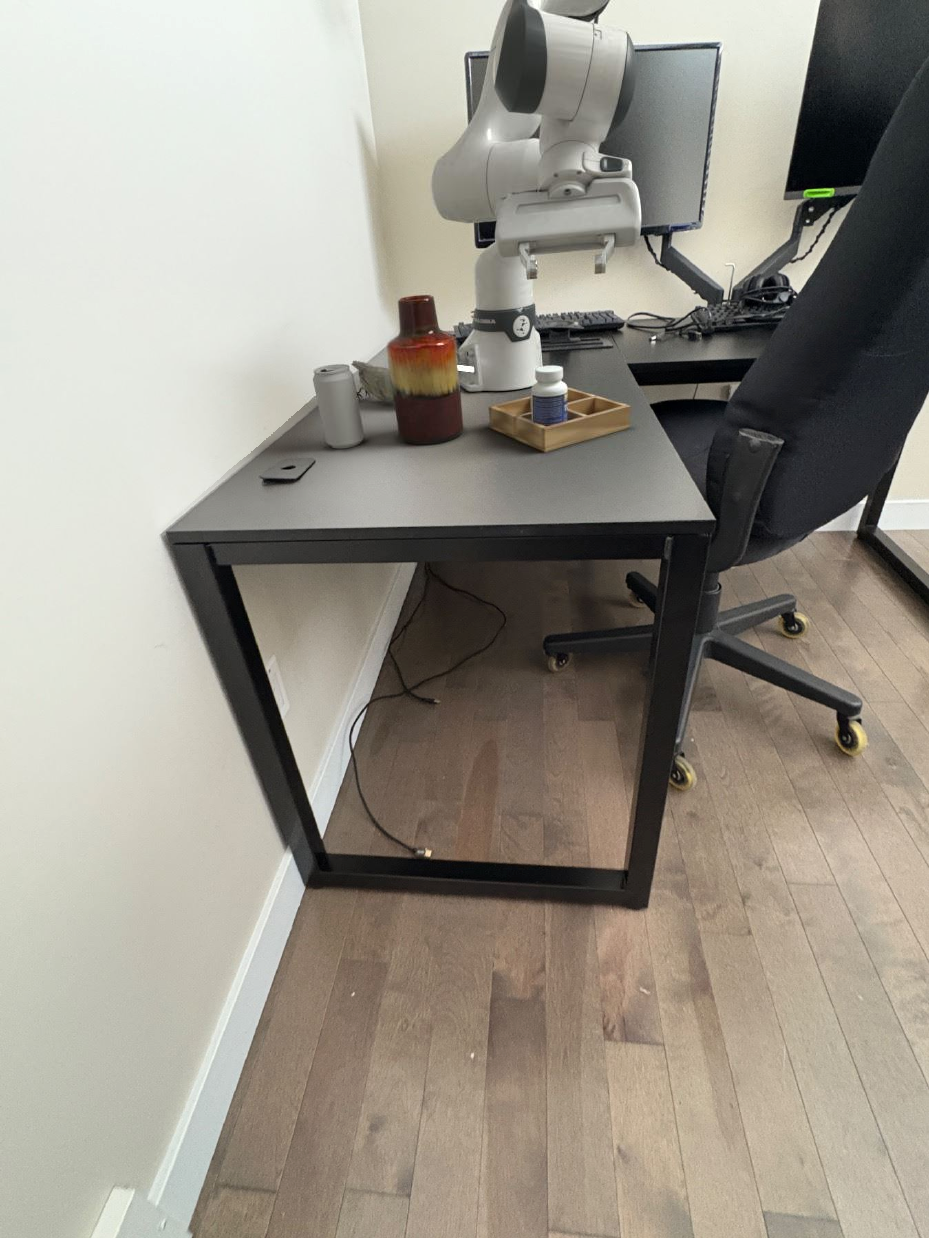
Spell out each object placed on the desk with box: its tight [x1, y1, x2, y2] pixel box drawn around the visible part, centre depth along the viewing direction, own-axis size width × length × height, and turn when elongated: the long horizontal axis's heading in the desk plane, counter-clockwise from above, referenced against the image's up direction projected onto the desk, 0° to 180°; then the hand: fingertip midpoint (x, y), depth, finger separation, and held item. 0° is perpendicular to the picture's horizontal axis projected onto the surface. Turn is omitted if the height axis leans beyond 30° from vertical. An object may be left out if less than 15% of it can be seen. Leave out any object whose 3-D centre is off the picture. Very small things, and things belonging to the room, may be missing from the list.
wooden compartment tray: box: [488, 386, 631, 453], centre depth 96 cm, size 16×16×4 cm
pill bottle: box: [530, 365, 568, 427], centre depth 90 cm, size 5×5×10 cm
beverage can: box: [312, 363, 365, 449], centre depth 97 cm, size 6×6×12 cm
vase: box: [385, 294, 464, 446], centre depth 95 cm, size 11×11×20 cm
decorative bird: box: [351, 360, 394, 404], centre depth 117 cm, size 5×16×7 cm, turn 50°
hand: (565, 273), depth 84 cm, fingers open, 8 cm apart
